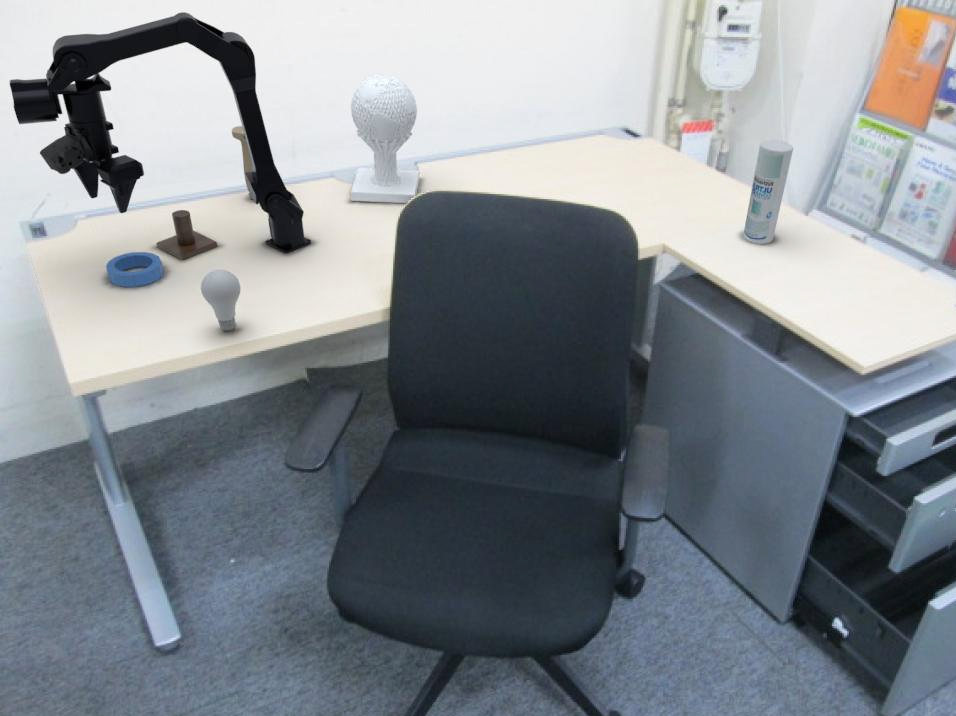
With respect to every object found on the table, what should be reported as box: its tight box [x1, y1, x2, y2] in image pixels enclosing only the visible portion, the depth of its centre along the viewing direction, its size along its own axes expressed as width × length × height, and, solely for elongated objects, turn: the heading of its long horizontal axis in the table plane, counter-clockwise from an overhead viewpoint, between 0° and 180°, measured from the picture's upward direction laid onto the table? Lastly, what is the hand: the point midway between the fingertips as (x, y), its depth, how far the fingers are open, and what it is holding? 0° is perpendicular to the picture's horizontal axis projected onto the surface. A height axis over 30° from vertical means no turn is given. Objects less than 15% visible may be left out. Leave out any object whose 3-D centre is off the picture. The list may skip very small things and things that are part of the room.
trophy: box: [350, 74, 420, 204], centre depth 197 cm, size 14×14×25 cm
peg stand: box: [155, 209, 218, 261], centre depth 175 cm, size 8×8×7 cm
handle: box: [231, 125, 254, 200], centre depth 193 cm, size 5×6×15 cm
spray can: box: [743, 139, 794, 245], centre depth 187 cm, size 6×6×20 cm
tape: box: [105, 251, 164, 288], centre depth 167 cm, size 9×9×2 cm
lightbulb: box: [200, 269, 242, 332], centre depth 150 cm, size 6×6×11 cm
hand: (108, 204), depth 162 cm, fingers open, 9 cm apart
